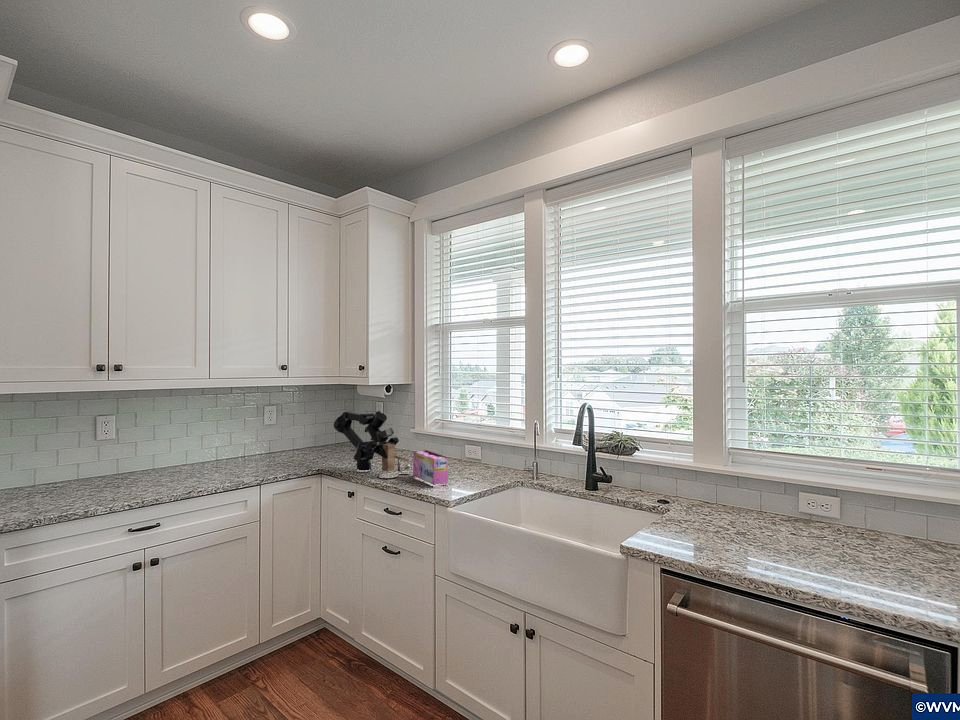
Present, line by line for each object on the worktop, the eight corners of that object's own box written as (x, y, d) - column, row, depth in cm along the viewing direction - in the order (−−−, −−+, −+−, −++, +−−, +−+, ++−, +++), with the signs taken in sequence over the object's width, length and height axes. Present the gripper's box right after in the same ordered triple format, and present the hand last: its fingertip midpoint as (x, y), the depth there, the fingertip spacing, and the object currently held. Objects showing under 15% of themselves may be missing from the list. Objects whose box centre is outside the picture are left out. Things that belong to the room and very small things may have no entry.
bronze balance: (384, 474, 253) (384, 455, 253) (387, 472, 257) (387, 453, 257) (410, 475, 251) (410, 456, 251) (412, 473, 255) (412, 454, 255)
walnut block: (381, 470, 246) (382, 444, 246) (388, 468, 250) (388, 443, 250) (387, 471, 244) (388, 445, 244) (394, 470, 247) (394, 444, 247)
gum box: (411, 477, 246) (411, 450, 246) (425, 476, 251) (425, 449, 251) (433, 488, 226) (433, 458, 226) (448, 486, 231) (448, 457, 231)
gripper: (369, 425, 242) (384, 450, 235) (396, 421, 257) (411, 445, 250) (358, 439, 246) (373, 464, 240) (386, 435, 261) (400, 458, 255)
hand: (390, 457), depth 246 cm, fingers closed on walnut block, 4 cm apart
